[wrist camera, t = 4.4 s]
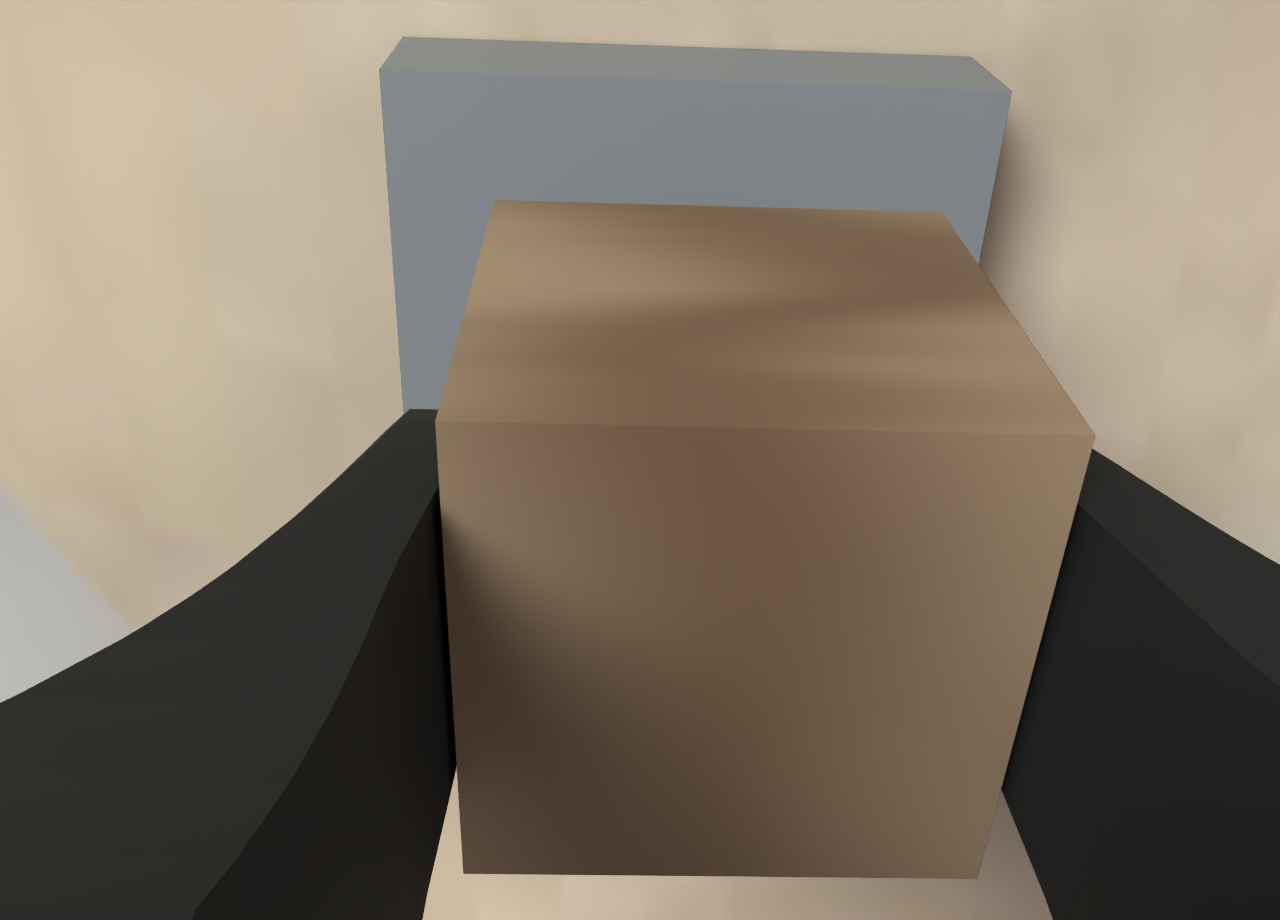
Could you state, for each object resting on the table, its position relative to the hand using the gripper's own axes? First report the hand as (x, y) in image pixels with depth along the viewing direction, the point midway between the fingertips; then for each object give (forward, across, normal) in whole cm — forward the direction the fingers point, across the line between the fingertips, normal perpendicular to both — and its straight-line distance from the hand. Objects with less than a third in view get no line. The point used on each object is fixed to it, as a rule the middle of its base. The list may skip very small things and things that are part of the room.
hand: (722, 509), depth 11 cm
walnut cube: (+2, 0, 0) cm, 2 cm away
